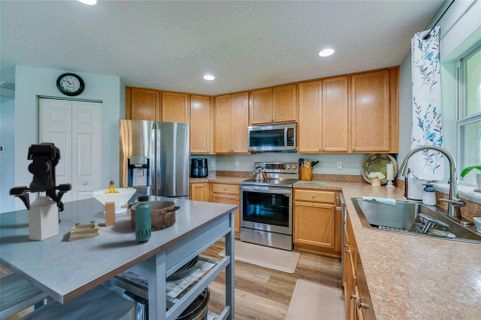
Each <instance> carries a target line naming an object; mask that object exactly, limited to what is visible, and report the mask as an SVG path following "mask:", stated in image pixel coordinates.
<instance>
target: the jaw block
mask: <svg viewBox="0 0 481 320" xmlns="http://www.w3.org/2000/svg"><path fill="white" fill-rule="evenodd" d="M115 205H116V203H115V201H107V202H104V220H105V222H104V223H105V227H112V226H116V206H115Z"/></svg>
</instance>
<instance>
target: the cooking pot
mask: <svg viewBox="0 0 481 320" xmlns="http://www.w3.org/2000/svg"><path fill="white" fill-rule="evenodd" d="M140 203H148V204H150V205H151V228H152V232H158V231H162V230H166V229H168V228H170V227H171V228H172V226H175V224H176V216H177V215H176V214H177V213H176V212H177V211H178V210H180V209H181V206H180V205H179V206H178V205H177V206H176V202H175V201H172V200H169V199H167V200H165V199H162V200H161V199H160V200H159V199H158V200H155V199H154V200H148V201H146V202H135V203H131V204H129V205H128V208H129V209H130V227H131V230H133V231H135V230H136V229H135V227H136V214H135V207H136V206H137V205H138V204H140Z"/></svg>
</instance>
